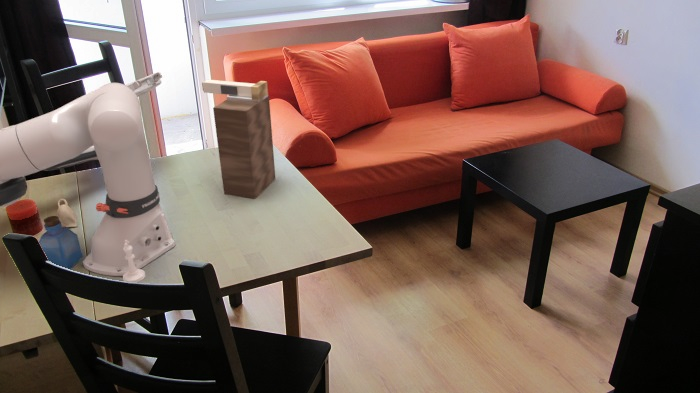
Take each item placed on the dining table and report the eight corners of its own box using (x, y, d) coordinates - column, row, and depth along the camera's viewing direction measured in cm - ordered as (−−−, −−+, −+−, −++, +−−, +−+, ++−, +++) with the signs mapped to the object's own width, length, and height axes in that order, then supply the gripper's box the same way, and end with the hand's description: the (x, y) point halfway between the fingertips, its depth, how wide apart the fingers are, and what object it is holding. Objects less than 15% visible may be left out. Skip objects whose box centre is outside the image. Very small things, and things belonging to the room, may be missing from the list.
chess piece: (148, 271, 132) (140, 234, 127) (141, 283, 128) (133, 246, 123) (127, 271, 132) (119, 234, 127) (119, 283, 128) (110, 246, 123)
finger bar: (253, 97, 158) (252, 87, 157) (201, 92, 163) (200, 82, 161) (258, 94, 161) (257, 83, 160) (208, 89, 166) (206, 79, 164)
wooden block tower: (254, 198, 163) (244, 95, 149) (224, 194, 166) (211, 92, 151) (275, 178, 175) (267, 80, 160) (246, 174, 178) (236, 78, 163)
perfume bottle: (59, 254, 138) (46, 211, 133) (83, 256, 138) (71, 213, 132) (44, 269, 133) (30, 225, 127) (68, 271, 132) (55, 227, 127)
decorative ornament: (60, 230, 148) (55, 213, 146) (60, 216, 155) (55, 199, 153) (77, 227, 150) (72, 209, 147) (76, 213, 157) (72, 196, 154)
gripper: (148, 98, 180) (176, 79, 173) (103, 118, 162) (133, 98, 156) (136, 80, 178) (165, 60, 171) (90, 99, 161) (119, 78, 154)
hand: (149, 78), depth 163 cm, fingers open, 8 cm apart
